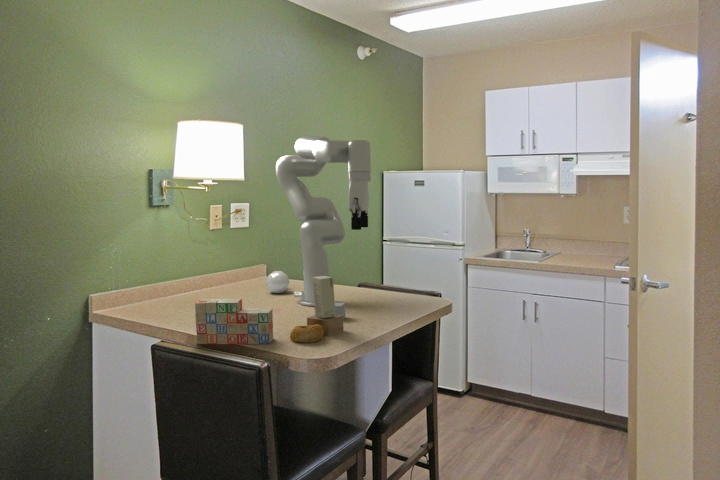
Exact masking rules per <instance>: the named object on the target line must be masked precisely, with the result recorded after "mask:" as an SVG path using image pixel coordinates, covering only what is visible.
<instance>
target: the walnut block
mask: <svg viewBox="0 0 720 480" xmlns="http://www.w3.org/2000/svg"><path fill="white" fill-rule="evenodd" d="M315 324H319V325H321V326H322V329H323V330H324V333H323V334H324V335H323V337H324V336H325V337H330V336H333V335H336V334H338V333H341V332H343V331H344V319H343V315H336V314H335V317H329V318H321V317H318V316H316V315H315V314H313V315H311V316H308V317H306V325H315Z"/></svg>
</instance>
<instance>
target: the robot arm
mask: <svg viewBox="0 0 720 480" xmlns="http://www.w3.org/2000/svg"><path fill="white" fill-rule="evenodd" d="M294 151H295V153H296V154H295V155H294V154H291V155H290V154H289V155H284V156H281V157H280V158H278V160H277V161H276V164H275V176H276V178H277V181H278V184H279V186H280V187H281V189H282V190H283V191H284V193H285V195H286V197H287V198H288V202H289V204H290V205H291V208H292V211H293V213H294V215H295V217H296V219H297V220H298V221H299V222H302V224H301V225H300V228H299V238H300V243H301V249H302V266H303V268H302V269H303V272H302V273H303V290H301V291H294V292H293V296H294V297H295V298H301V299H300V300H299V304H300V305H302V306H309V307H315V303H314V289H313V277H318V276H328V277H329V256H328V253H327V251H326V249H325V248H324V246H325V245H334V244H339V243H341V242H342V241H344V239H345V234H346V231H345V227H344V224H343V221H342V218H341V217H340V215H339V212H338V210H337V209H336V206H335V204H334V202H333V201H332V200H331V199H329V198H328V197H324V196H312V195H311V193H310V191H309V189H308V186H307V185H305V183H304V182H303V181H301V180H300V179H299V178H308V177H309V178H311V177H316V176H318V175H319V174H320V173H321V171H322V170H323V168H324V167H325V166H326V164H327V163H328V164H330V163H331V164H334V163H335V164H336V163H338V164H341V163H342V164H347V168H348V169H347V177H348V178H347V179H348V183H349V188H348V211H349V212H351V214H350V217H351V219H350V220H351V222H350V223H351V225H350V226H351V229H350V230H352V231H353V230H354V231H355V230H357V231H361V230H362V228H368V227H369V212H368V210H369V205H370V201H369V200H370V197H369V191H370V190H369V182H371V177H372V176H371V175H372V174H371V173H372V172H371V171H372V169H371V168H372V167H371V163H372V162H371V142H370V141H369V140H367V139H352V140H338V139H337V140H336V139H334V140H330V139H329V137H326V136H319V135H318V136H314V135H313V136H311V135H306V136H300V137H299V138H298V139H297V140H296V141H295V144H294Z"/></svg>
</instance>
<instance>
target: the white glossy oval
mask: <svg viewBox="0 0 720 480" xmlns="http://www.w3.org/2000/svg"><path fill="white" fill-rule="evenodd" d="M265 283H266V286H267V290H268V291H270V292H271V293H272V294H282V293H284V292H285V291H287V290H288V287H289V286H290V279H289V276H288V274H286V273H285V272H284V271H282V270H273V271H272V272H271V273H269V274H268V275H267V277H266V282H265Z"/></svg>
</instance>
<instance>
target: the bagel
mask: <svg viewBox="0 0 720 480" xmlns="http://www.w3.org/2000/svg"><path fill="white" fill-rule="evenodd" d="M323 333H324V330H323V329H322V326H321V325H319V324H315V325H307V324H306V325H296V326H294V328H293V329H292V330H291V332H290V336H289V339H290V340H291V341H293V342H295V343H307V344H312V342H313V343H317V342H319V341H321V340H322V339H324V336H323V335H324V334H323Z"/></svg>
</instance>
